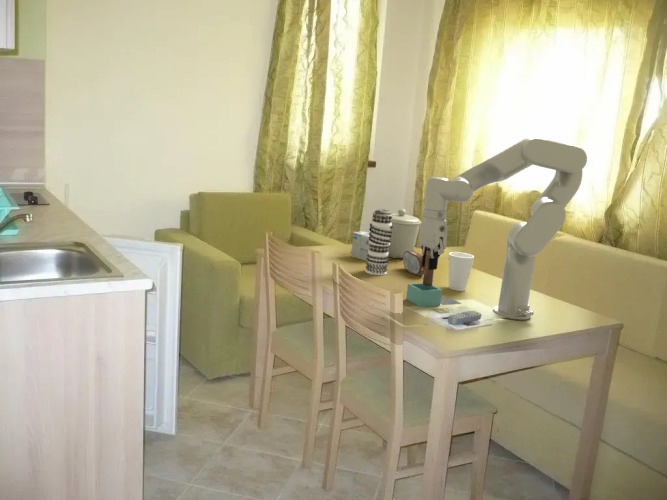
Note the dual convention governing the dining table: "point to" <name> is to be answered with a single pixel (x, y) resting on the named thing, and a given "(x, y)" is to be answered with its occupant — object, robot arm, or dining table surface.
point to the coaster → (448, 301)
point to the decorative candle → (379, 242)
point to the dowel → (428, 273)
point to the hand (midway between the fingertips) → (429, 267)
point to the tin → (413, 262)
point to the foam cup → (459, 270)
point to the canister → (403, 234)
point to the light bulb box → (360, 245)
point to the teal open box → (424, 295)
